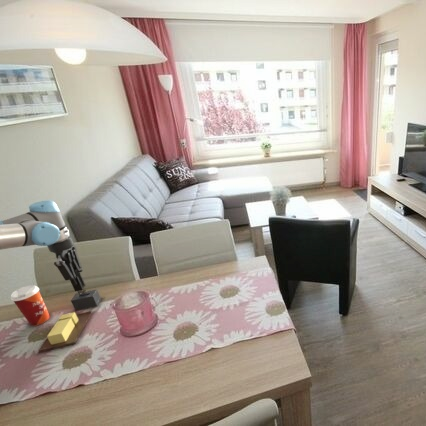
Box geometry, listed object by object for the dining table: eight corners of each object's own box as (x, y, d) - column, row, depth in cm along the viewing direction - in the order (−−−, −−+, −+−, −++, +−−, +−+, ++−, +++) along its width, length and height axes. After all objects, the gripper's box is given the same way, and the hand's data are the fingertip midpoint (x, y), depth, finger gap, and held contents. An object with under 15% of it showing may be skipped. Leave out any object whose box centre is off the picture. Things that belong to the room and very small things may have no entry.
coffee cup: (50, 322, 118) (34, 293, 112) (24, 331, 114) (5, 300, 108) (55, 310, 125) (40, 281, 119) (30, 317, 121) (13, 288, 115)
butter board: (39, 352, 105) (38, 350, 104) (61, 319, 119) (60, 317, 119) (75, 344, 108) (74, 342, 107) (92, 312, 122) (91, 311, 122)
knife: (80, 301, 124) (67, 272, 118) (82, 298, 126) (69, 270, 120) (88, 300, 125) (75, 270, 119) (90, 297, 127) (77, 268, 121)
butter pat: (62, 327, 114) (58, 319, 113) (65, 322, 116) (61, 314, 115) (76, 324, 115) (72, 316, 114) (78, 319, 118) (74, 312, 116)
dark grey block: (75, 310, 124) (70, 300, 122) (80, 303, 128) (75, 293, 126) (97, 306, 126) (92, 296, 124) (101, 298, 130) (96, 289, 128)
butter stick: (51, 344, 106) (46, 336, 105) (61, 329, 113) (57, 321, 112) (65, 341, 108) (61, 333, 106) (75, 325, 115) (71, 318, 113)
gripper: (60, 246, 108) (83, 297, 118) (77, 229, 121) (97, 276, 131) (36, 250, 106) (61, 301, 116) (56, 232, 119) (77, 280, 129)
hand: (80, 288), depth 123 cm, fingers closed on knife, 2 cm apart
